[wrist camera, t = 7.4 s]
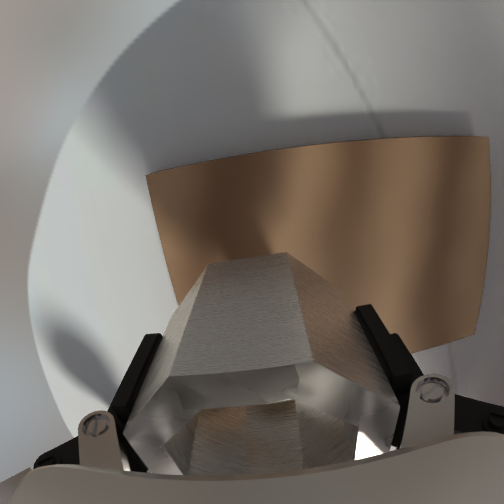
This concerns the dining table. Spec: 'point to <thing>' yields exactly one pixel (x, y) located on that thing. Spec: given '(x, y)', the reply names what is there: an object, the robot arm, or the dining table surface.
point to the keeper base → (346, 224)
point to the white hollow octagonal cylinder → (261, 377)
